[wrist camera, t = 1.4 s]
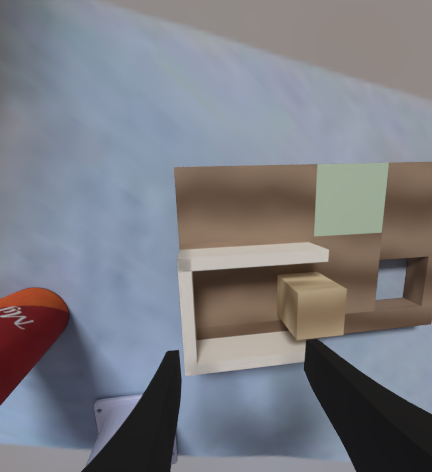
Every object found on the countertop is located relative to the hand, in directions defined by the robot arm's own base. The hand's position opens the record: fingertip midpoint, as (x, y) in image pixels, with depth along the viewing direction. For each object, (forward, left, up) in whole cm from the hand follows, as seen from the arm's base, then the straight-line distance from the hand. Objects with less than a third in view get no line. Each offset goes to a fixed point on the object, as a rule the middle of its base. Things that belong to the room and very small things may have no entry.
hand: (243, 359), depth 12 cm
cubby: (0, -2, -8) cm, 9 cm away
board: (+3, -10, -10) cm, 14 cm away
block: (0, -7, -8) cm, 11 cm away
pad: (+8, -12, -10) cm, 18 cm away
